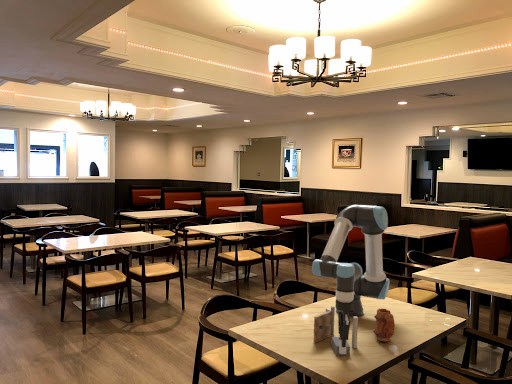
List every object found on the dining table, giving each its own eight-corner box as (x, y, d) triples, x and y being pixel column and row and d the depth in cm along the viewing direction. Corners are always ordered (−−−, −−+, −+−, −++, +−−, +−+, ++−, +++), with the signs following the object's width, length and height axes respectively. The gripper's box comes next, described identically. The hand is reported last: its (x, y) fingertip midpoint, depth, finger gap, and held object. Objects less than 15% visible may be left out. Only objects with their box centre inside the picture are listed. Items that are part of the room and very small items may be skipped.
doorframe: (324, 332, 205) (325, 304, 204) (327, 331, 206) (328, 304, 205) (353, 348, 188) (355, 317, 187) (356, 347, 189) (358, 317, 188)
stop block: (331, 345, 190) (331, 336, 190) (344, 345, 190) (344, 337, 190) (336, 355, 180) (336, 346, 180) (349, 355, 180) (350, 346, 180)
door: (328, 335, 201) (329, 310, 200) (333, 336, 199) (334, 312, 198) (313, 341, 193) (314, 316, 192) (318, 343, 191) (318, 318, 190)
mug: (370, 335, 202) (372, 305, 201) (387, 335, 203) (388, 305, 202) (382, 349, 188) (383, 316, 187) (399, 348, 188) (401, 316, 187)
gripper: (357, 304, 172) (355, 360, 173) (349, 295, 185) (347, 346, 186) (339, 304, 171) (337, 360, 173) (332, 295, 184) (330, 346, 186)
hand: (342, 353), depth 179 cm, fingers closed
